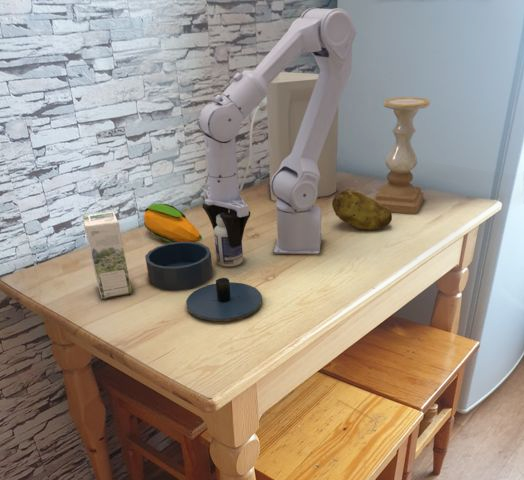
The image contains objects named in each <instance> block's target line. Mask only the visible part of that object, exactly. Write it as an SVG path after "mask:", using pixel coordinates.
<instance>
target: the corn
mask: <svg viewBox="0 0 524 480" xmlns="http://www.w3.org/2000/svg"><path fill="white" fill-rule="evenodd" d="M144 212H145V213H144V214H143V221H144V227H145V228H146V229H147V231H149V232H150V233H151V234H153V235H154V236H155V237H157V238H159V239H161V240H163V241H165V242H168V243H174V242H195V243H198V242H201V241H202V240H203V236H202V235H201V234H200V231H199V230H198V228H197V227H196V226H195V225H194V224H193V223H192V222H191V221H189V219H187V218H186V215H185V214H184V212H182V211H181V210H179V209H178V208H176V207H175V206H174V205H171V204H167V203H162V202H161V203H159V202H158V203H152V204H150V205H149V206H147V207H146V208H145V209H144Z"/></svg>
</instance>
